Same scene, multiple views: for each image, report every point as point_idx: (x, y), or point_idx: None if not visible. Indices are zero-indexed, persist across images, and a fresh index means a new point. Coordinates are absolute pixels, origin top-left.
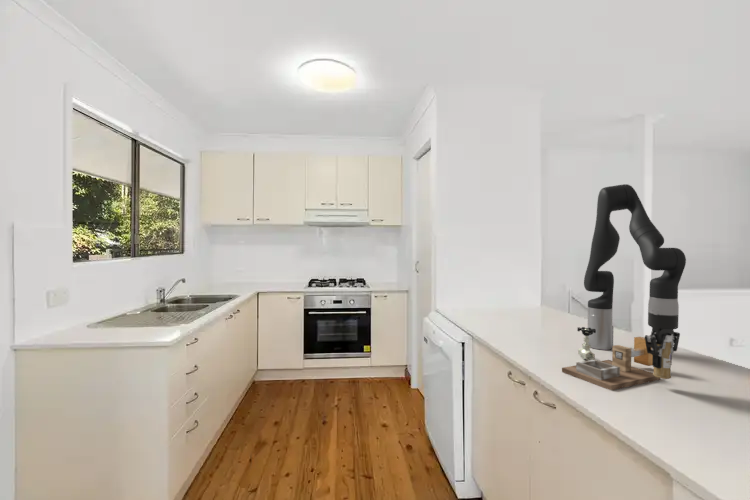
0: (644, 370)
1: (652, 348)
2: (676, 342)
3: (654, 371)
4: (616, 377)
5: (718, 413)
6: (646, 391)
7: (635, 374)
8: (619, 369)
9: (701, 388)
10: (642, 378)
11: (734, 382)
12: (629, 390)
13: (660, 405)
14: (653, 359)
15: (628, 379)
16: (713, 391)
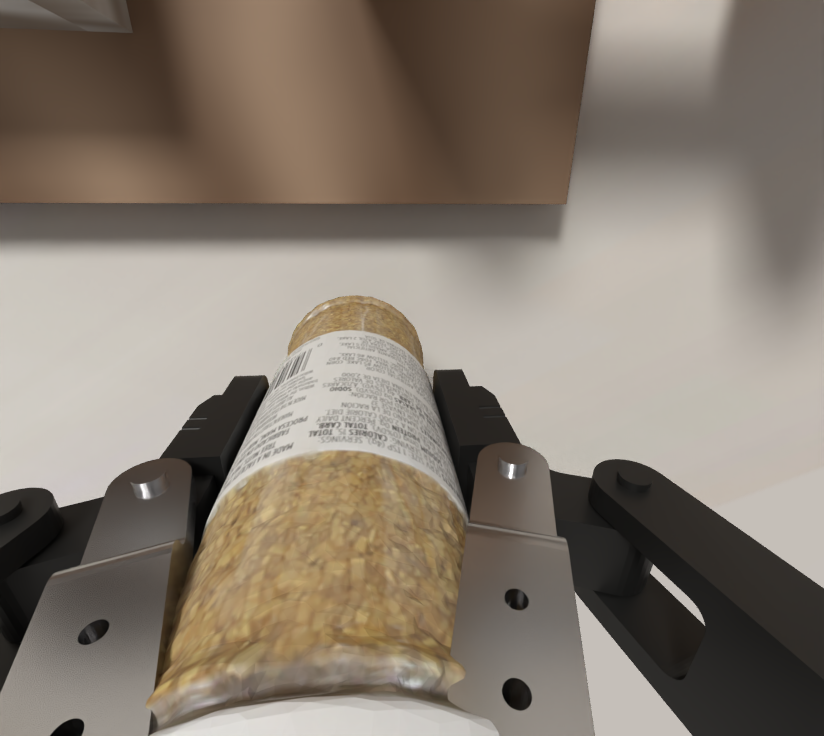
0: (585, 31)
1: (91, 561)
2: (695, 726)
3: (292, 344)
4: (54, 47)
5: None
6: (179, 325)
7: (363, 77)
8: (75, 3)
9: (592, 414)
10: (313, 196)
11: None
12: (50, 262)
13: (61, 492)
14: (177, 450)
15: (145, 155)
16: (592, 461)
